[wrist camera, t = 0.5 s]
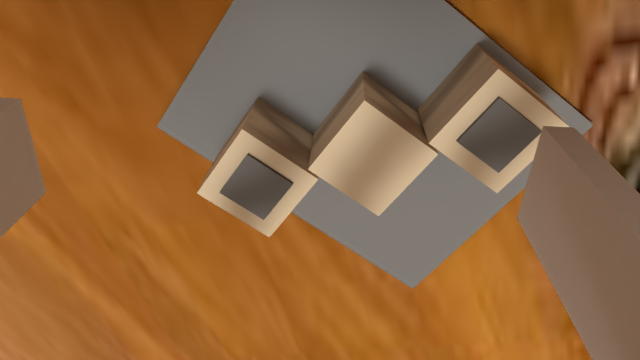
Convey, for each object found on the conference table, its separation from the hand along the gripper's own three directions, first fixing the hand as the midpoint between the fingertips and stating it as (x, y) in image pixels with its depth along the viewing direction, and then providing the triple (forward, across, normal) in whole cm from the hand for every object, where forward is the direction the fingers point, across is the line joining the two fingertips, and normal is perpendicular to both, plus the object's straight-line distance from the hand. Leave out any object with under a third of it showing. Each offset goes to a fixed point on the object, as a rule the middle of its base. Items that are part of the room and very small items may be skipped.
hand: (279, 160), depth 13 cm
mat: (+24, +4, -9) cm, 26 cm away
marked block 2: (+23, +12, -7) cm, 27 cm away
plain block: (+23, +4, -9) cm, 25 cm away
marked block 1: (+24, -4, -11) cm, 26 cm away
